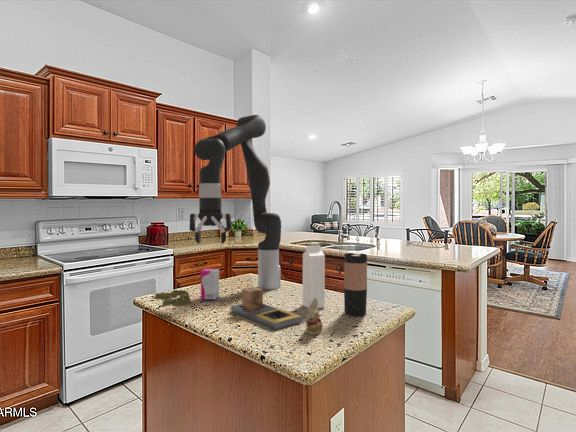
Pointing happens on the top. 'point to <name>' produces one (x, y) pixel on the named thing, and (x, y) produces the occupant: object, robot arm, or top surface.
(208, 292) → the supplement box
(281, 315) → the gray slotted board
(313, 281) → the milk
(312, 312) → the chocolate bunny
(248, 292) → the block
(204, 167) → the robot arm
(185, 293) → the cookie cutter
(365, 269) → the travel mug
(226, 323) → the top surface
